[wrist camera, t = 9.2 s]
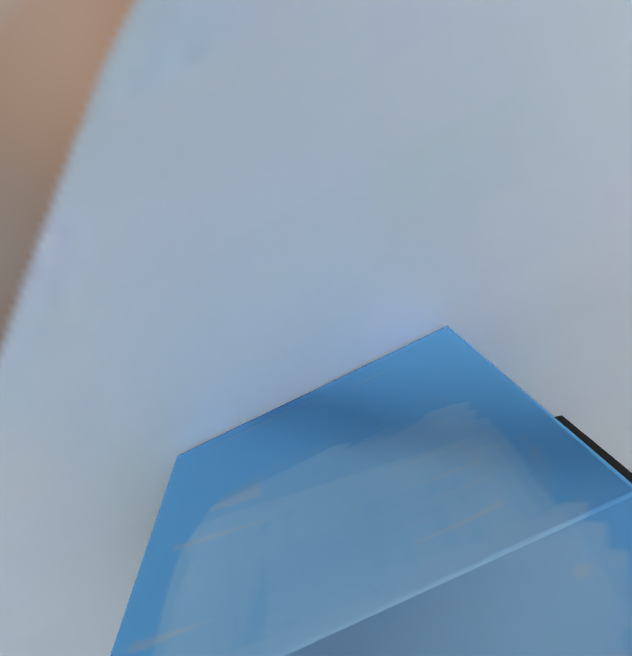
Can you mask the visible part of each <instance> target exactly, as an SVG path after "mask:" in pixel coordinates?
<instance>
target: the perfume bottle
mask: <svg viewBox="0 0 632 656" xmlns="http://www.w3.org/2000/svg"><path fill="white" fill-rule="evenodd" d="M111 656H632V483H631V482H630V481H628V480H627V479H626V478H625V477H624V476H623V475H621V474H620V473H619V472H618V471H617V470H616V469H614V468H613V467H612V466H611V465H610V464H608V463H607V462H606V461H605V460H604V459H603V458H601V457H600V456H599V455H598V454H597V453H596V452H594V451H593V450H592V449H591V448H590V447H589V446H587V445H586V444H585V443H584V442H583V441H582V440H580V439H579V438H578V437H577V436H576V435H575V434H573V433H572V432H571V431H570V430H569V429H568V428H566V427H565V426H564V425H563V424H562V423H560V422H559V421H558V420H557V419H556V418H555V417H553V416H552V415H551V414H550V413H549V412H548V411H546V410H545V409H544V408H543V407H542V406H541V405H539V404H538V403H537V402H536V401H535V400H534V399H532V398H531V397H530V396H529V395H528V394H527V393H525V392H524V391H523V390H522V389H521V388H520V387H518V386H517V385H516V384H515V383H514V382H513V381H511V380H510V379H509V378H508V377H507V376H505V375H504V374H503V373H502V372H501V371H500V370H498V369H497V368H496V367H495V366H494V365H493V364H491V363H490V362H489V361H488V360H487V359H486V358H484V357H483V356H482V355H481V354H480V353H479V352H477V351H476V350H475V349H474V348H473V347H472V346H470V345H469V344H468V343H467V342H466V341H465V340H463V339H462V338H461V337H460V336H459V335H457V334H456V333H455V332H454V331H453V330H452V329H450V328H449V327H448V326H446V327H444V328H442V329H440V330H438V331H436V332H434V333H432V334H430V335H428V336H426V337H424V338H421V339H419V340H417V341H415V342H413V343H411V344H409V345H407V346H405V347H403V348H401V349H399V350H397V351H394V352H392V353H390V354H388V355H386V356H384V357H382V358H380V359H378V360H376V361H374V362H372V363H370V364H368V365H365V366H363V367H361V368H359V369H357V370H355V371H353V372H351V373H349V374H347V375H345V376H343V377H341V378H338V379H336V380H334V381H332V382H330V383H328V384H326V385H324V386H322V387H320V388H318V389H316V390H314V391H312V392H309V393H307V394H305V395H303V396H301V397H299V398H297V399H295V400H293V401H291V402H289V403H287V404H285V405H282V406H280V407H278V408H276V409H274V410H272V411H270V412H268V413H266V414H264V415H262V416H260V417H258V418H256V419H253V420H251V421H249V422H247V423H245V424H243V425H241V426H239V427H237V428H235V429H233V430H231V431H229V432H226V433H224V434H222V435H220V436H218V437H216V438H214V439H212V440H210V441H208V442H206V443H204V444H202V445H200V446H197V447H195V448H193V449H191V450H189V451H187V452H185V453H183V454H181V455H179V456H177V459H176V462H175V465H174V468H173V471H172V474H171V477H170V480H169V483H168V486H167V489H166V492H165V495H164V498H163V501H162V504H161V507H160V510H159V513H158V516H157V519H156V522H155V525H154V528H153V531H152V534H151V537H150V540H149V543H148V546H147V548H146V551H145V554H144V557H143V560H142V563H141V566H140V569H139V572H138V575H137V578H136V581H135V584H134V587H133V590H132V593H131V596H130V599H129V602H128V605H127V608H126V611H125V614H124V617H123V620H122V623H121V626H120V629H119V632H118V635H117V638H116V641H115V644H114V647H113V650H112V653H111Z"/></svg>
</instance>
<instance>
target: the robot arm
mask: <svg viewBox="0 0 632 656" xmlns="http://www.w3.org/2000/svg"><path fill="white" fill-rule="evenodd" d="M555 418H556V419H557V420H558V421H559V422H560V423H562V424H563V425H564V426H565V427H566V428H568V429H569V430H570V431H571V432H572V433H573V434H575V435H576V436H577V437H578V438H579V439H580V440H582V441H583V442H584V443H585V444H586V445H587V446H589V447H590V448H591V449H592V450H593V451H594V452H596V453H597V454H598V455H599V456H600V457H601V458H603V459H604V460H605V461H606V462H607V463H608V464H610V465H611V466H612V467H613V468H614V469H616V470H617V471H618V472H619V473H620V474H621V475H623V476H624V477H625V478H626V479H627V480H628V481H630V482H631V483H632V473H631V472H630V471H629V470H627V469H626V468H625V467H624V466H623V465H621V464H620V463H619V462H618V461H616V460H615V459H614V458H613V457H612V456H610V455H609V454H608V453H607V452H606V451H604V450H603V449H602V448H601V447H599V446H598V445H597V444H596V443H595V442H593V441H592V440H591V439H590V438H589V437H587V436H586V435H585V434H584V433H582V432H581V431H580V430H579V429H578V428H576V427H575V426H574V425H573V424H572V423H570V422H569V421H568V420H567V419H565V418H564V417H563V416H562V415H561V416H557V417H555Z"/></svg>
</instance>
